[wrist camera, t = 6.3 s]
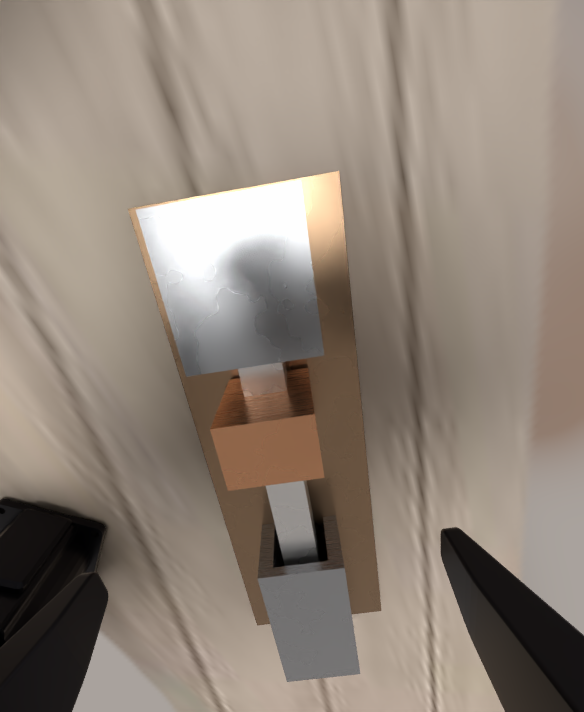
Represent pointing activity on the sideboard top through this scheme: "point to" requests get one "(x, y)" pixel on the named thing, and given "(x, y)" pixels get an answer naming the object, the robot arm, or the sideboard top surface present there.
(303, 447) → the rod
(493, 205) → the sideboard top surface
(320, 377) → the tube base
